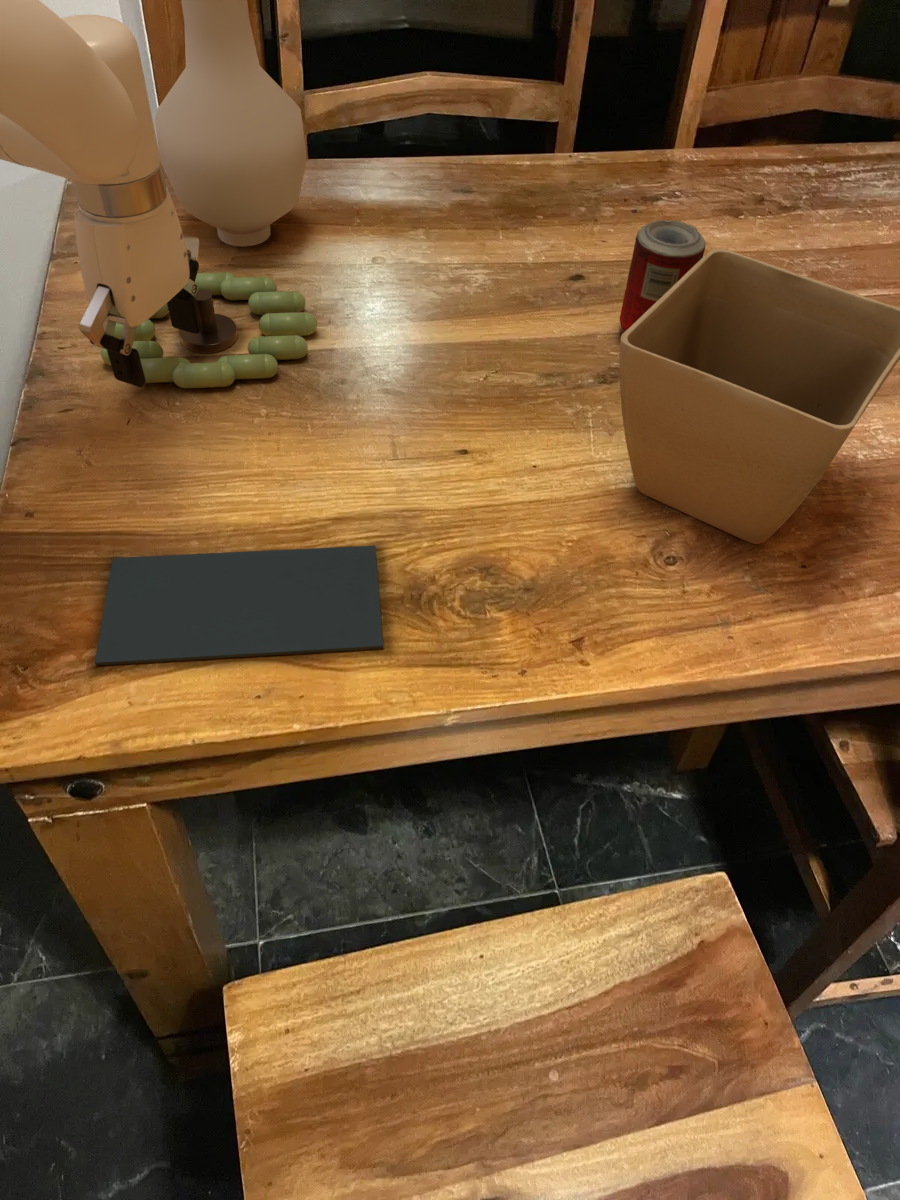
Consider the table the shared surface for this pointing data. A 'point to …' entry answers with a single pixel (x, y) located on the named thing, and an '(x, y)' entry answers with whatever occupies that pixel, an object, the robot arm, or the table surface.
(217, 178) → the vase
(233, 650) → the mat
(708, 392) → the flower pot
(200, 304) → the ring stand
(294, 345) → the ring
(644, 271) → the soda can
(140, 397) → the table surface
